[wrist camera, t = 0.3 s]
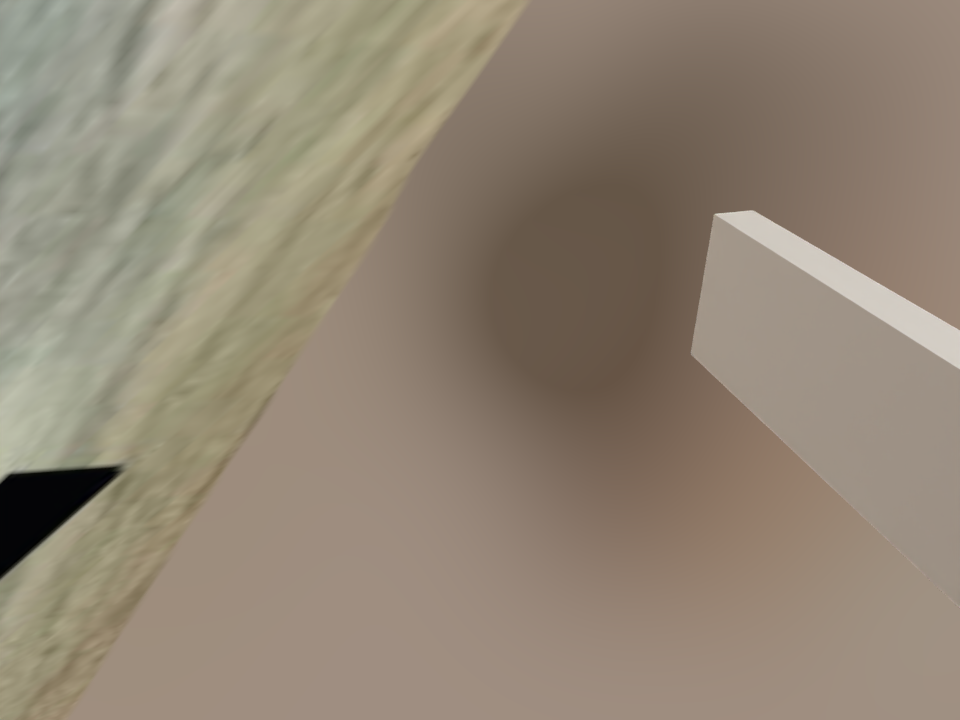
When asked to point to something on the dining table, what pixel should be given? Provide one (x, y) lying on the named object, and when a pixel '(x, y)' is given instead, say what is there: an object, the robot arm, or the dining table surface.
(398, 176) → the dining table surface
